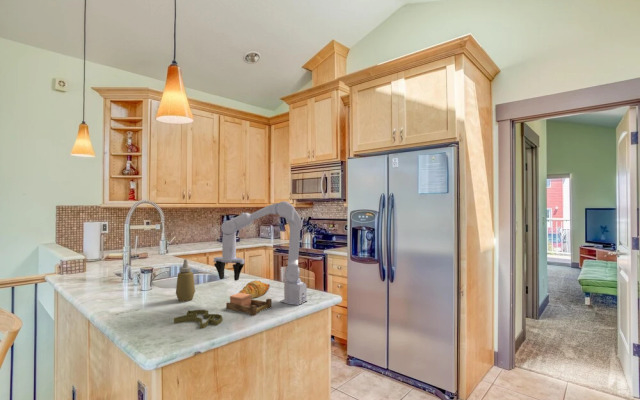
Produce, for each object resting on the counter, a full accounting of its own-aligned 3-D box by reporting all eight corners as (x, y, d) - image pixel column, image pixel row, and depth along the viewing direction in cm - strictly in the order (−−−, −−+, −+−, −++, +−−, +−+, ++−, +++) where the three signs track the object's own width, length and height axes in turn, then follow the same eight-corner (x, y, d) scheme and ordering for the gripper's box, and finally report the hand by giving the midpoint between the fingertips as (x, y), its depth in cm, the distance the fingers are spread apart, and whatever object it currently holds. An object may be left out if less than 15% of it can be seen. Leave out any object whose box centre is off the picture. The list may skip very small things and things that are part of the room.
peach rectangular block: (251, 305, 141) (251, 294, 141) (241, 309, 135) (241, 298, 135) (240, 302, 144) (240, 292, 144) (229, 306, 138) (229, 296, 138)
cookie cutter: (169, 323, 122) (169, 317, 122) (194, 313, 133) (194, 308, 133) (206, 331, 115) (206, 325, 115) (230, 319, 126) (230, 314, 126)
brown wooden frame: (271, 307, 139) (271, 299, 139) (253, 315, 129) (253, 306, 129) (242, 302, 146) (242, 294, 146) (223, 309, 136) (223, 300, 136)
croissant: (241, 309, 147) (248, 294, 145) (227, 296, 152) (233, 281, 150) (272, 296, 165) (278, 283, 163) (258, 285, 170) (264, 271, 168)
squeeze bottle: (188, 303, 145) (188, 261, 145) (171, 302, 146) (171, 260, 146) (198, 298, 153) (198, 258, 153) (182, 297, 154) (182, 257, 154)
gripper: (248, 247, 147) (248, 278, 147) (221, 246, 152) (220, 276, 152) (239, 249, 141) (239, 282, 141) (210, 248, 146) (210, 279, 146)
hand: (229, 279), depth 146 cm, fingers open, 7 cm apart
